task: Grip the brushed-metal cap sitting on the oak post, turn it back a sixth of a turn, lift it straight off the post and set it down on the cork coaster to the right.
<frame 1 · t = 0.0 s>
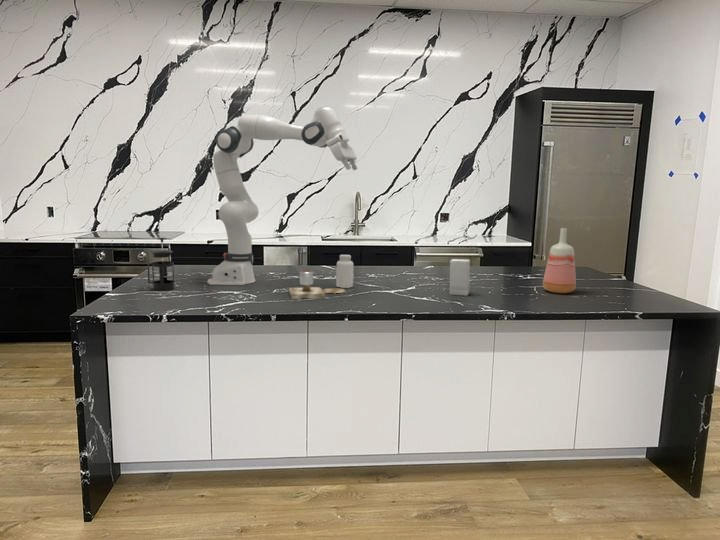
hand: (352, 169, 242), 54 cm above the countertop, tool tilted 30°, fingers open, 8 cm apart
vase: (558, 292, 256), on the countertop
coaster: (333, 291, 247), on the countertop
skincare box: (458, 294, 247), on the countertop
cap: (306, 283, 237), point 5 cm above the countertop, touching post stand
pill bottle: (344, 287, 259), on the countertop
post stand: (306, 295, 238), on the countertop
french press: (162, 289, 246), on the countertop
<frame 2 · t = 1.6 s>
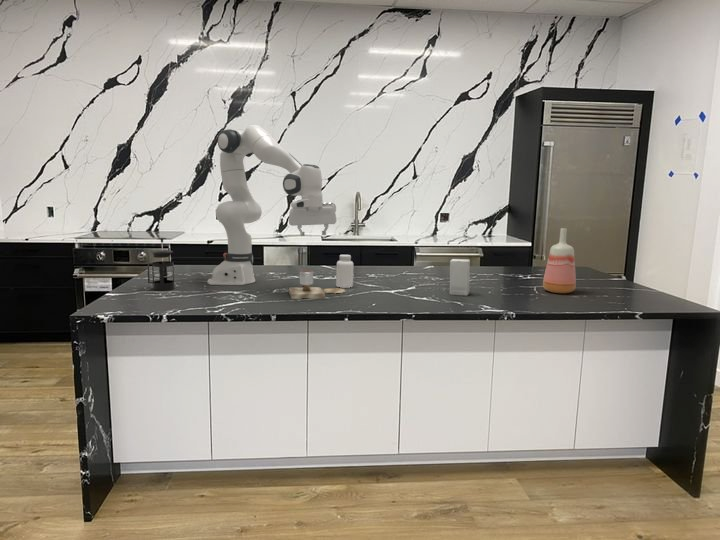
hand: (313, 235, 235), 26 cm above the countertop, tool pointing down, fingers open, 8 cm apart
nothing on the countertop moved.
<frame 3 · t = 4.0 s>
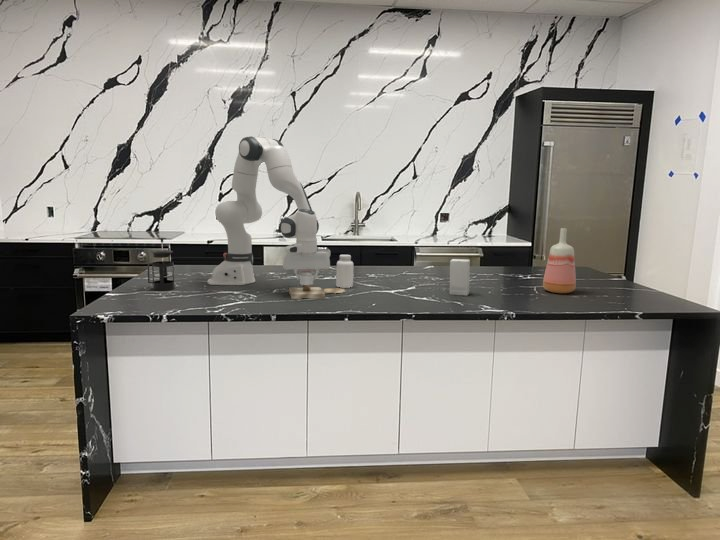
hand: (306, 279, 237), 7 cm above the countertop, tool pointing down, fingers closed on cap, 6 cm apart
cap: (306, 283, 237), point 5 cm above the countertop, touching gripper, post stand
everything else where it was.
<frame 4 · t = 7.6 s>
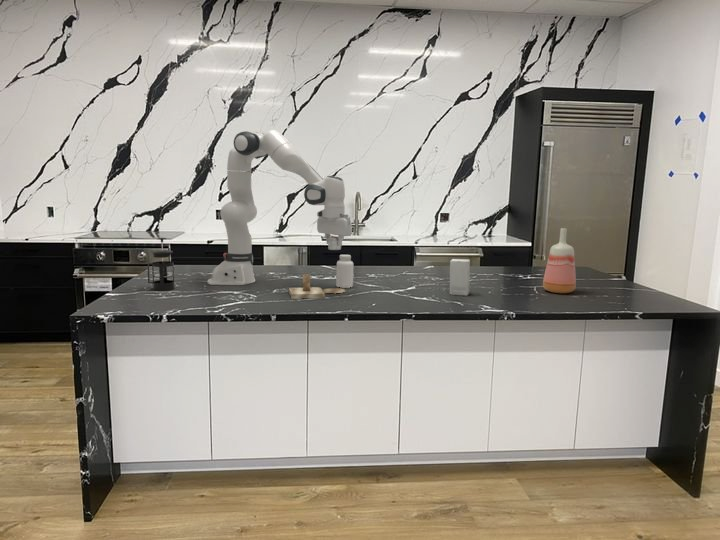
hand: (334, 244, 243), 21 cm above the countertop, tool pointing down, fingers closed on cap, 6 cm apart
cap: (334, 248, 244), point 19 cm above the countertop, touching gripper
everything else where it was.
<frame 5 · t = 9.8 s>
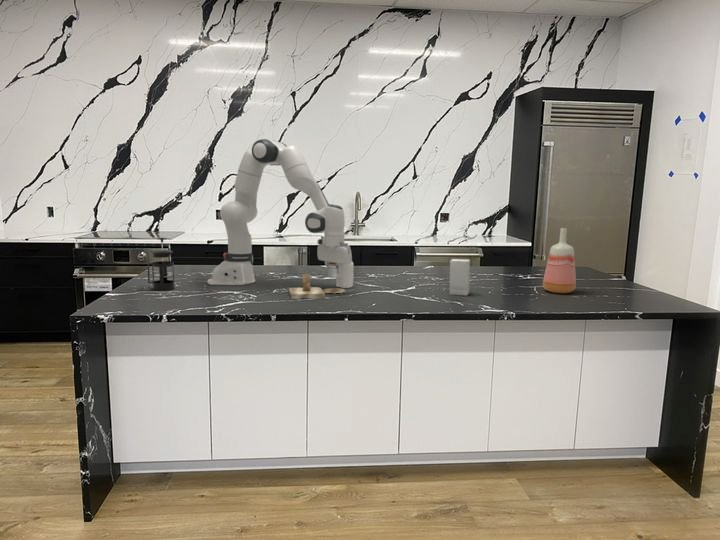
hand: (334, 272, 245), 9 cm above the countertop, tool pointing down, fingers closed on cap, 6 cm apart
cap: (334, 276, 246), point 7 cm above the countertop, touching gripper
everything else where it was.
when the fingers open (4 cm above the countertop, at t = 11.4 s): cap drops 1 cm, resting on coaster.
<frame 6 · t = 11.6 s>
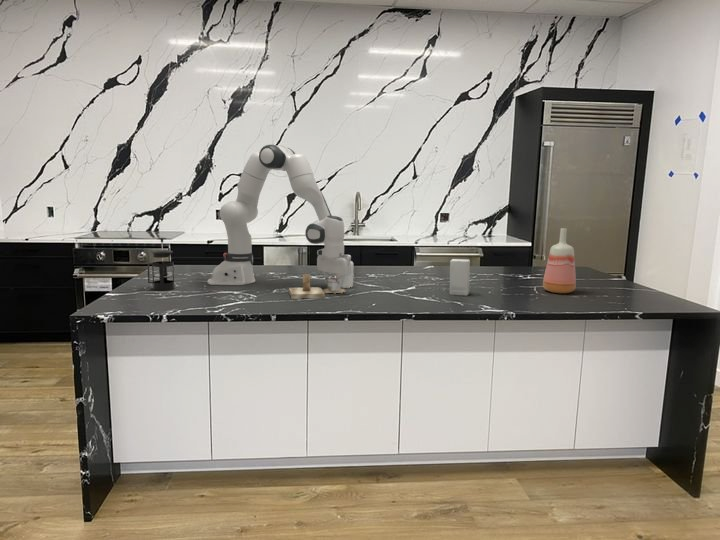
hand: (333, 283, 246), 4 cm above the countertop, tool pointing down, fingers open, 8 cm apart
cap: (334, 290, 247), point 1 cm above the countertop, touching coaster
everything else where it was.
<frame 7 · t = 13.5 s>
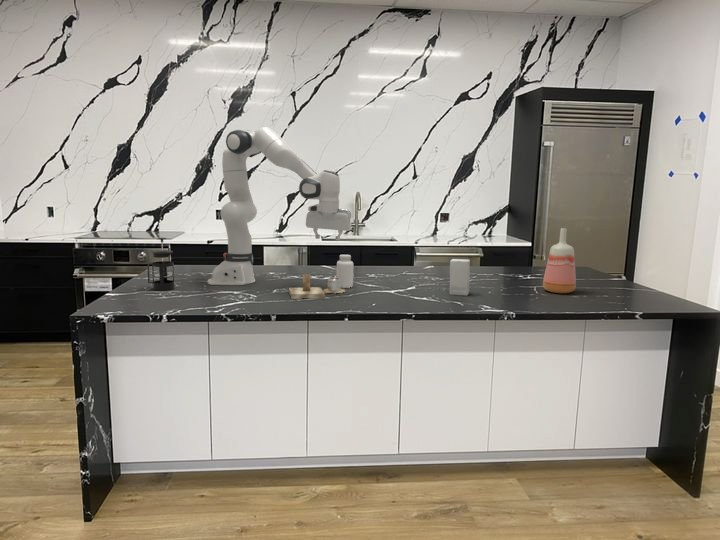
hand: (327, 239, 244), 23 cm above the countertop, tool pointing down, fingers open, 8 cm apart
nothing on the countertop moved.
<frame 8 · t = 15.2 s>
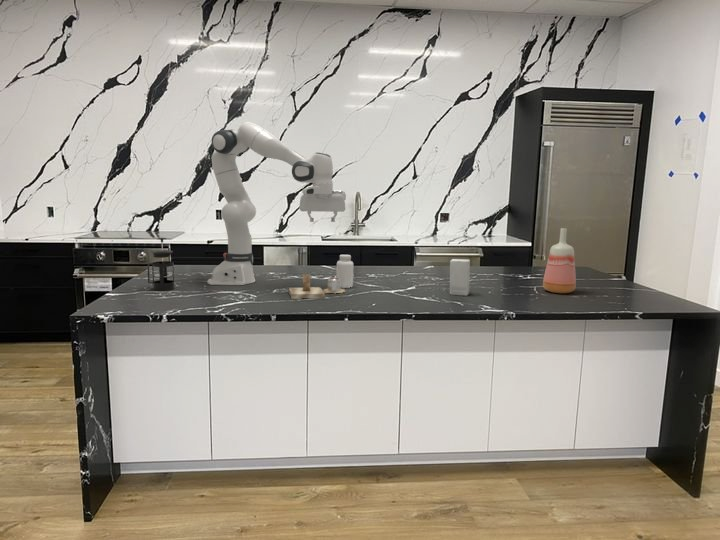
hand: (322, 221, 244), 31 cm above the countertop, tool pointing down, fingers open, 8 cm apart
nothing on the countertop moved.
at the end: cap inside the target area on the coaster (0.3 cm from its centre), point 0.6 cm above the coaster's base; cap tilted 0°; cap touching coaster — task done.
